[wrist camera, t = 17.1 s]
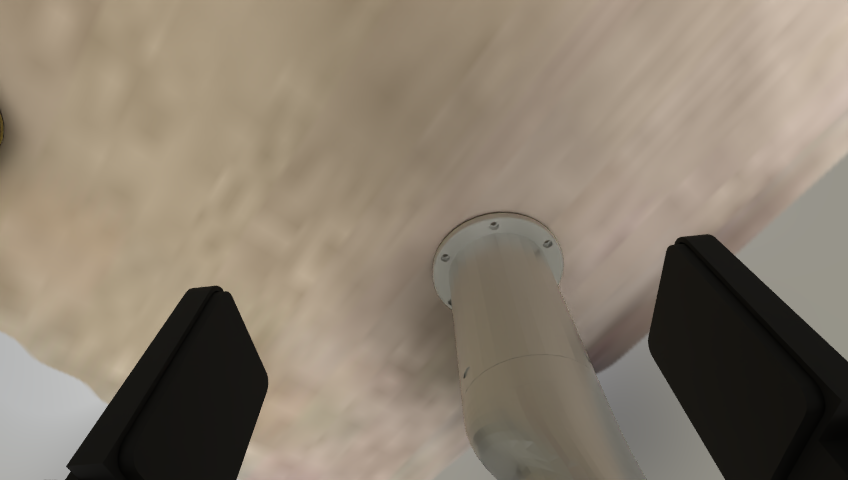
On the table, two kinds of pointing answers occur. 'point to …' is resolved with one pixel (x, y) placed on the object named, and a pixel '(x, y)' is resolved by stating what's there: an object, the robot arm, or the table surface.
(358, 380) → the table surface
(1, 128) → the apothecary jar
